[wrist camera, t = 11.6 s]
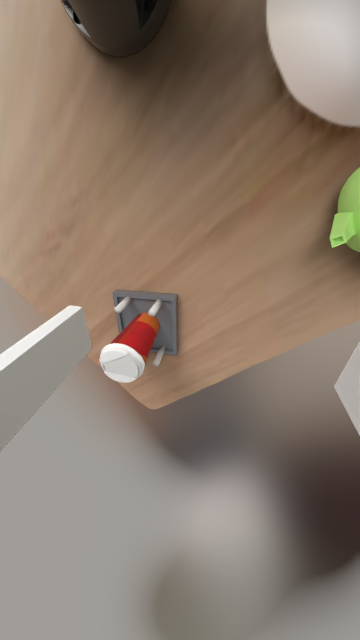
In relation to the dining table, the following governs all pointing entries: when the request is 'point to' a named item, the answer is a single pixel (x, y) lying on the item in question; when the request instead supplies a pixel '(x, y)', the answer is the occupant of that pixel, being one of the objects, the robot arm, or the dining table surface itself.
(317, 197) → the dining table surface
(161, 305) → the tray
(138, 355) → the coffee cup
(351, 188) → the teapot
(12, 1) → the dining table surface
